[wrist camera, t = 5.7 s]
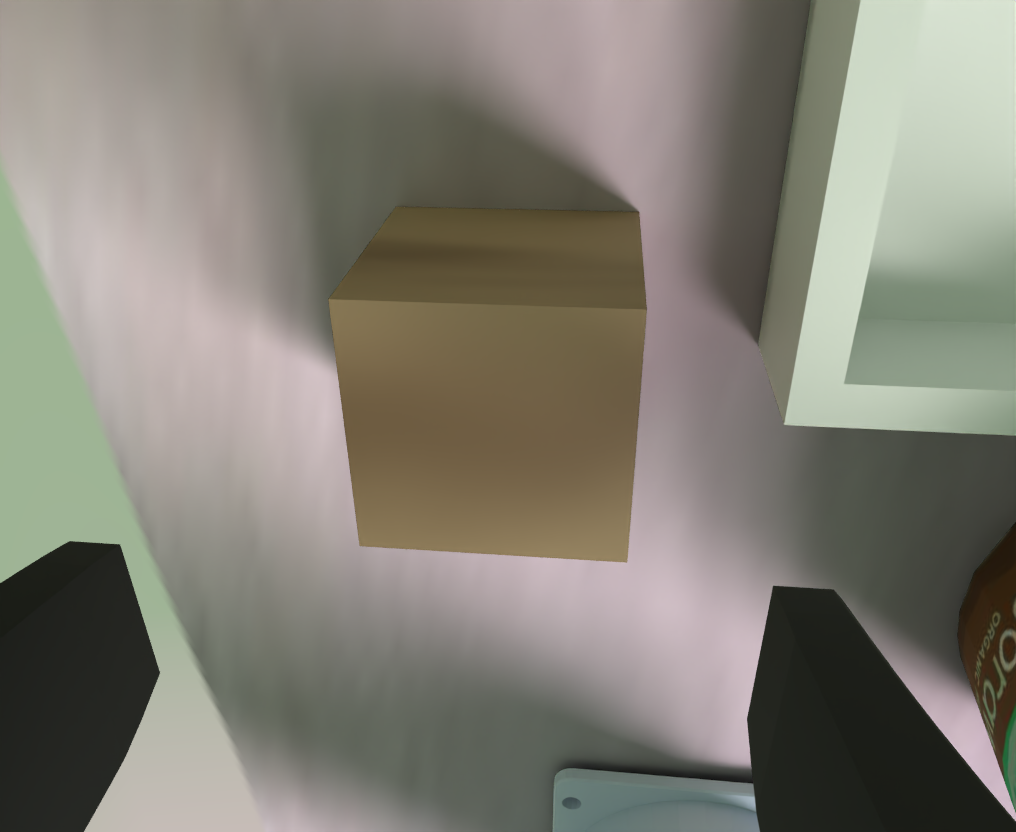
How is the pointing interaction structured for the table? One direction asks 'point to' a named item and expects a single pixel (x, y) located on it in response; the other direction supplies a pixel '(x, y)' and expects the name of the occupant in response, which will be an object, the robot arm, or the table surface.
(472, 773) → the table surface
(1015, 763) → the food container
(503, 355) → the walnut block
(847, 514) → the table surface
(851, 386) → the counting tray
